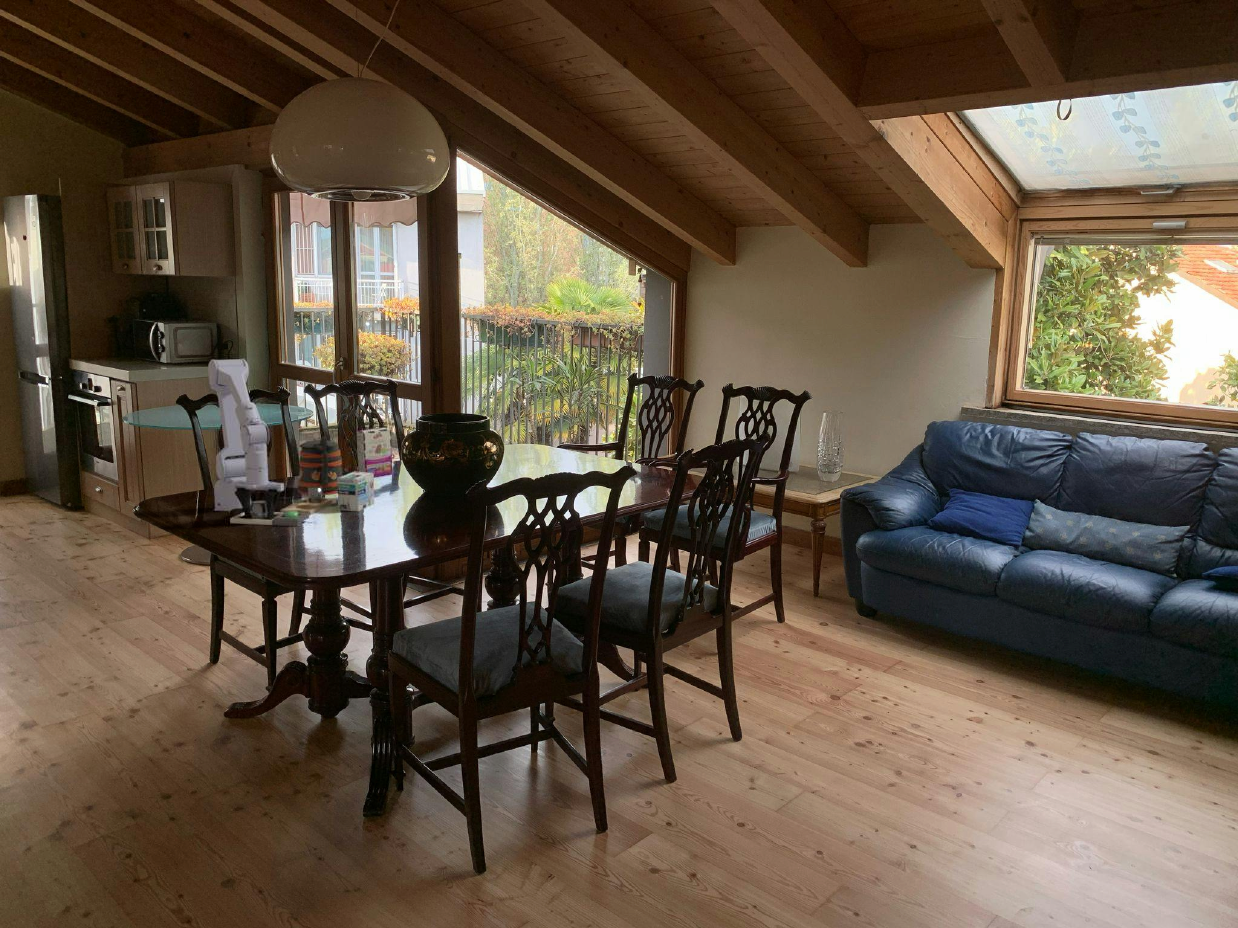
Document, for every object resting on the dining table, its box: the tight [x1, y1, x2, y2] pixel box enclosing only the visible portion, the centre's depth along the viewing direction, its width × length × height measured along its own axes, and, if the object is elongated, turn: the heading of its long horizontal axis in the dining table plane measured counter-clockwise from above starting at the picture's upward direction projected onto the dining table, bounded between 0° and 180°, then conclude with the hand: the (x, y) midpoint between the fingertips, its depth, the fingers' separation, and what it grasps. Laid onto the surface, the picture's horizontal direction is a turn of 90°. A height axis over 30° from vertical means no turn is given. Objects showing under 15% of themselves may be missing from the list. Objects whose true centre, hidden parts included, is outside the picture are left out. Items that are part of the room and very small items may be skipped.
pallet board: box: [279, 496, 337, 516], centre depth 273 cm, size 9×17×2 cm, turn 173°
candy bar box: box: [356, 427, 393, 478], centre depth 325 cm, size 11×5×16 cm, turn 138°
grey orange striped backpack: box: [297, 436, 343, 496], centre depth 293 cm, size 19×15×20 cm
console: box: [272, 512, 310, 527], centre depth 258 cm, size 7×7×2 cm
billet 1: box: [251, 500, 268, 520], centre depth 260 cm, size 4×4×5 cm
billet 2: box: [307, 486, 324, 503], centre depth 277 cm, size 4×4×5 cm
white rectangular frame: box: [229, 511, 282, 526], centre depth 261 cm, size 12×9×2 cm
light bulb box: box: [337, 471, 375, 512], centre depth 275 cm, size 11×7×11 cm, turn 168°
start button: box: [284, 511, 298, 518], centre depth 258 cm, size 4×4×2 cm
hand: (259, 514), depth 260 cm, fingers open, 6 cm apart
